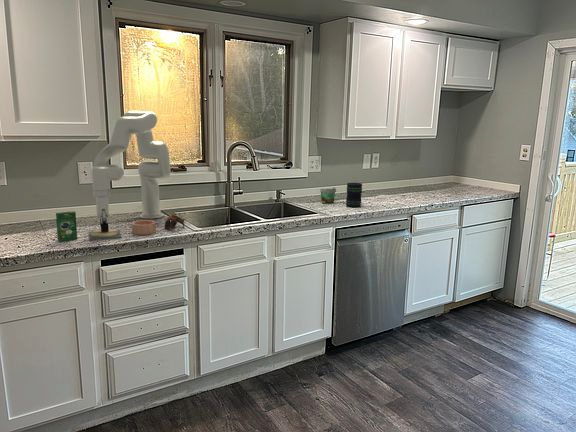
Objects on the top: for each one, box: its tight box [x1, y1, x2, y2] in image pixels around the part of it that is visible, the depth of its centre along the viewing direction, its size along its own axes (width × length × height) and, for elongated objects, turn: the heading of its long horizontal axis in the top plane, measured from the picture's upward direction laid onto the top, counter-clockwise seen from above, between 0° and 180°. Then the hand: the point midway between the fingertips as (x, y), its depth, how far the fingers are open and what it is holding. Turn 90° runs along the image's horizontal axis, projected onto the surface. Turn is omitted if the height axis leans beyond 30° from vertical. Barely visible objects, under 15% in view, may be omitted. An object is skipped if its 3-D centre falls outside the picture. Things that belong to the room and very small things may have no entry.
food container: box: [319, 187, 337, 205], centre depth 306 cm, size 12×6×10 cm, turn 127°
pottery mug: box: [163, 214, 185, 231], centre depth 234 cm, size 12×10×8 cm
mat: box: [88, 229, 123, 242], centre depth 219 cm, size 14×14×1 cm
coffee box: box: [55, 210, 78, 243], centre depth 209 cm, size 8×3×13 cm, turn 135°
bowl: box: [131, 219, 157, 236], centre depth 225 cm, size 11×11×5 cm
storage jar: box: [345, 182, 363, 209], centre depth 297 cm, size 10×10×15 cm
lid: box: [90, 228, 119, 238], centre depth 218 cm, size 12×12×5 cm
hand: (104, 229), depth 218 cm, fingers open, 7 cm apart
